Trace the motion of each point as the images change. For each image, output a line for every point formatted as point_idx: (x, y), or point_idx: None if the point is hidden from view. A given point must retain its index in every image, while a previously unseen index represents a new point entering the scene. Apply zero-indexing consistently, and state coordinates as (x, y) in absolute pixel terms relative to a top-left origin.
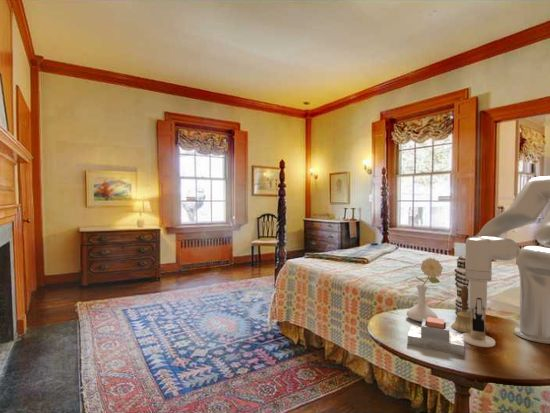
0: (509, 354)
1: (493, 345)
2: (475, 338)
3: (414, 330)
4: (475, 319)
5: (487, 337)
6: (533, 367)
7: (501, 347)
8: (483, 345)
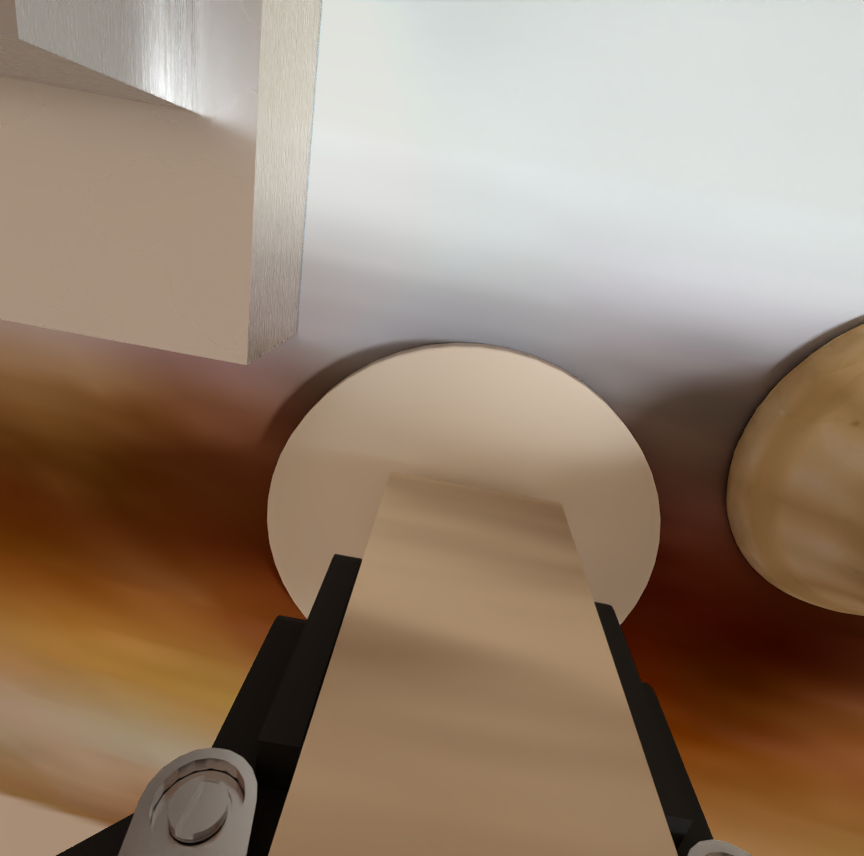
0: (206, 692)
1: None
2: None
3: None
4: (260, 769)
5: None
6: (28, 756)
7: None
8: (277, 545)
